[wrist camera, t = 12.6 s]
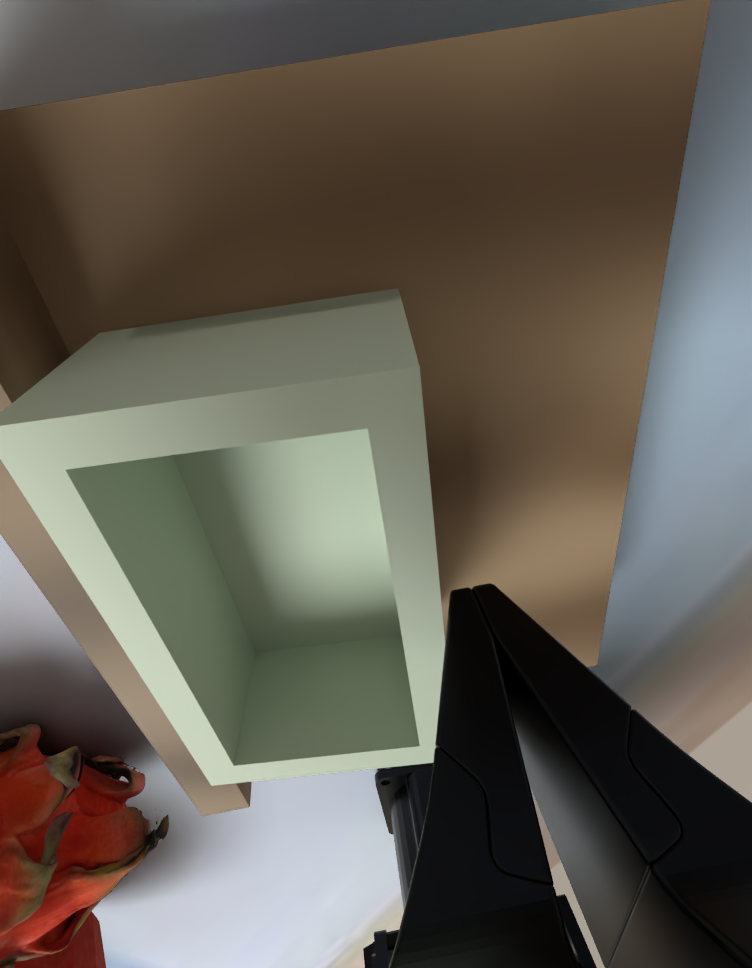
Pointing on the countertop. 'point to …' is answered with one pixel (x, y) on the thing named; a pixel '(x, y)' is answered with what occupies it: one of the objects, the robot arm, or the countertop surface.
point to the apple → (74, 950)
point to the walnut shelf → (384, 274)
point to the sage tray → (253, 527)
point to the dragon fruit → (62, 841)
